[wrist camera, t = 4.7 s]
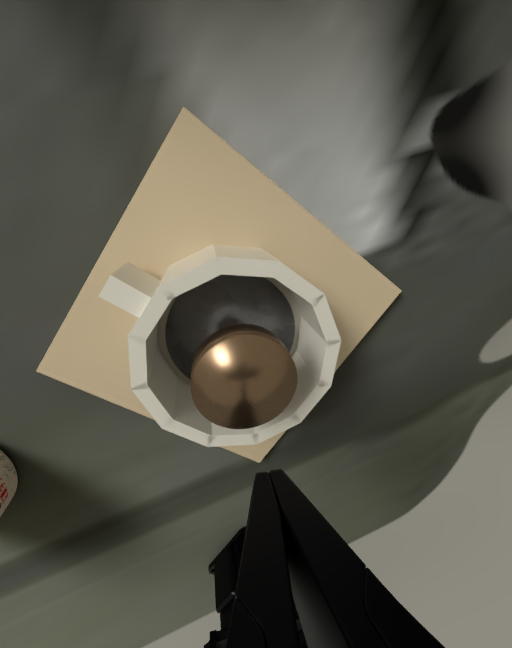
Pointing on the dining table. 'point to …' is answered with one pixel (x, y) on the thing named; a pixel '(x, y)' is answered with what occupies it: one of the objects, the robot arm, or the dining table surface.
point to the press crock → (201, 266)
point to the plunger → (235, 349)
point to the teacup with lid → (6, 481)
